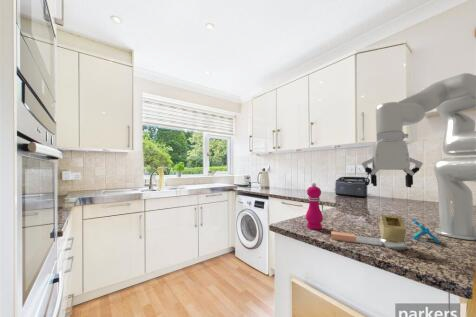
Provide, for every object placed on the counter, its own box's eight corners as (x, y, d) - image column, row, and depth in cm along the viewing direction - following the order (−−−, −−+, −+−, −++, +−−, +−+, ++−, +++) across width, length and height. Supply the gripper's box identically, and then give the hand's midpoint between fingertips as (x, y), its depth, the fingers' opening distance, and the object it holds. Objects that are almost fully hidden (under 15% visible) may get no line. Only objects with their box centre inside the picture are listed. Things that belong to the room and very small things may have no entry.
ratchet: (401, 244, 71) (400, 228, 71) (408, 251, 65) (407, 234, 65) (331, 234, 80) (331, 220, 80) (331, 240, 74) (331, 225, 74)
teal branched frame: (444, 243, 68) (415, 218, 74) (428, 252, 70) (401, 227, 76) (439, 239, 76) (414, 217, 82) (425, 247, 78) (401, 225, 84)
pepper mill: (311, 224, 95) (310, 182, 96) (326, 228, 89) (325, 183, 90) (302, 227, 90) (302, 182, 91) (317, 231, 85) (317, 183, 86)
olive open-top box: (398, 228, 71) (401, 216, 68) (403, 242, 66) (406, 229, 64) (378, 226, 73) (380, 214, 71) (382, 239, 69) (384, 227, 66)
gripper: (416, 138, 71) (418, 186, 70) (359, 140, 78) (361, 184, 77) (425, 134, 64) (427, 188, 63) (362, 138, 72) (363, 186, 71)
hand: (391, 186), depth 70 cm, fingers open, 9 cm apart
